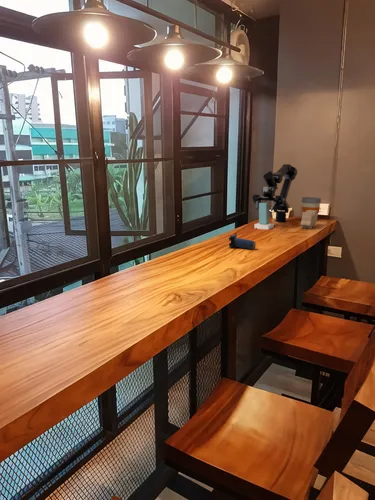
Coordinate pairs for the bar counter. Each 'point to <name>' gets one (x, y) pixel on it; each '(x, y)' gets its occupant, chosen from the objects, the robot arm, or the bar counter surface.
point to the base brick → (264, 226)
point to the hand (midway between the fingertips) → (263, 210)
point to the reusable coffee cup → (311, 204)
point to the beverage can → (241, 242)
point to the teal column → (263, 213)
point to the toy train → (309, 219)
